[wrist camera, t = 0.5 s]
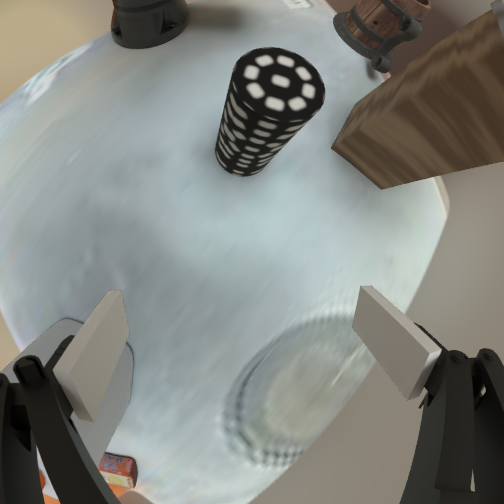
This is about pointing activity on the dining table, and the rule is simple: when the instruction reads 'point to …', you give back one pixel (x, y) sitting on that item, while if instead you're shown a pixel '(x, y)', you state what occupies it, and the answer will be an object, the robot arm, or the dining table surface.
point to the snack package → (118, 470)
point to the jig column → (434, 110)
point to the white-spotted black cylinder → (266, 107)
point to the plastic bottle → (90, 432)
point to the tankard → (381, 27)
